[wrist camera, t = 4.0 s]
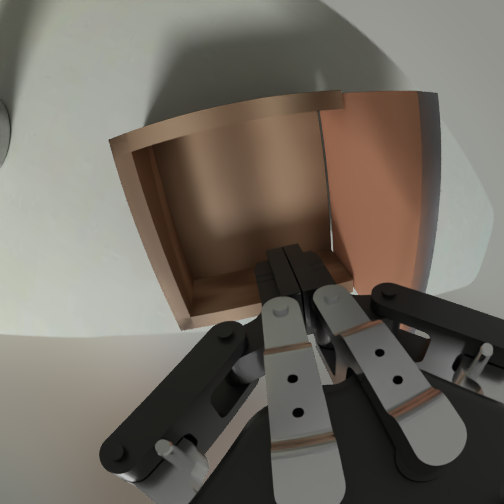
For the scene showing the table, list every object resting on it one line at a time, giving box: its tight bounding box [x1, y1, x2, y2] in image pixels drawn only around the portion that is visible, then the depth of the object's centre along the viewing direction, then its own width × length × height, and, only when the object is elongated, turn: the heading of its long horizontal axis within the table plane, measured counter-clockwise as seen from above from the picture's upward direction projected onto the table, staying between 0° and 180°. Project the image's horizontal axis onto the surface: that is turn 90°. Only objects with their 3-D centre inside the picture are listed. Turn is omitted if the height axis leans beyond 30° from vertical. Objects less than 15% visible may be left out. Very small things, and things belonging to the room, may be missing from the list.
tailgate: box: [320, 91, 441, 334], centre depth 17 cm, size 1×15×12 cm, turn 10°
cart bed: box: [109, 90, 353, 331], centre depth 21 cm, size 14×15×8 cm
